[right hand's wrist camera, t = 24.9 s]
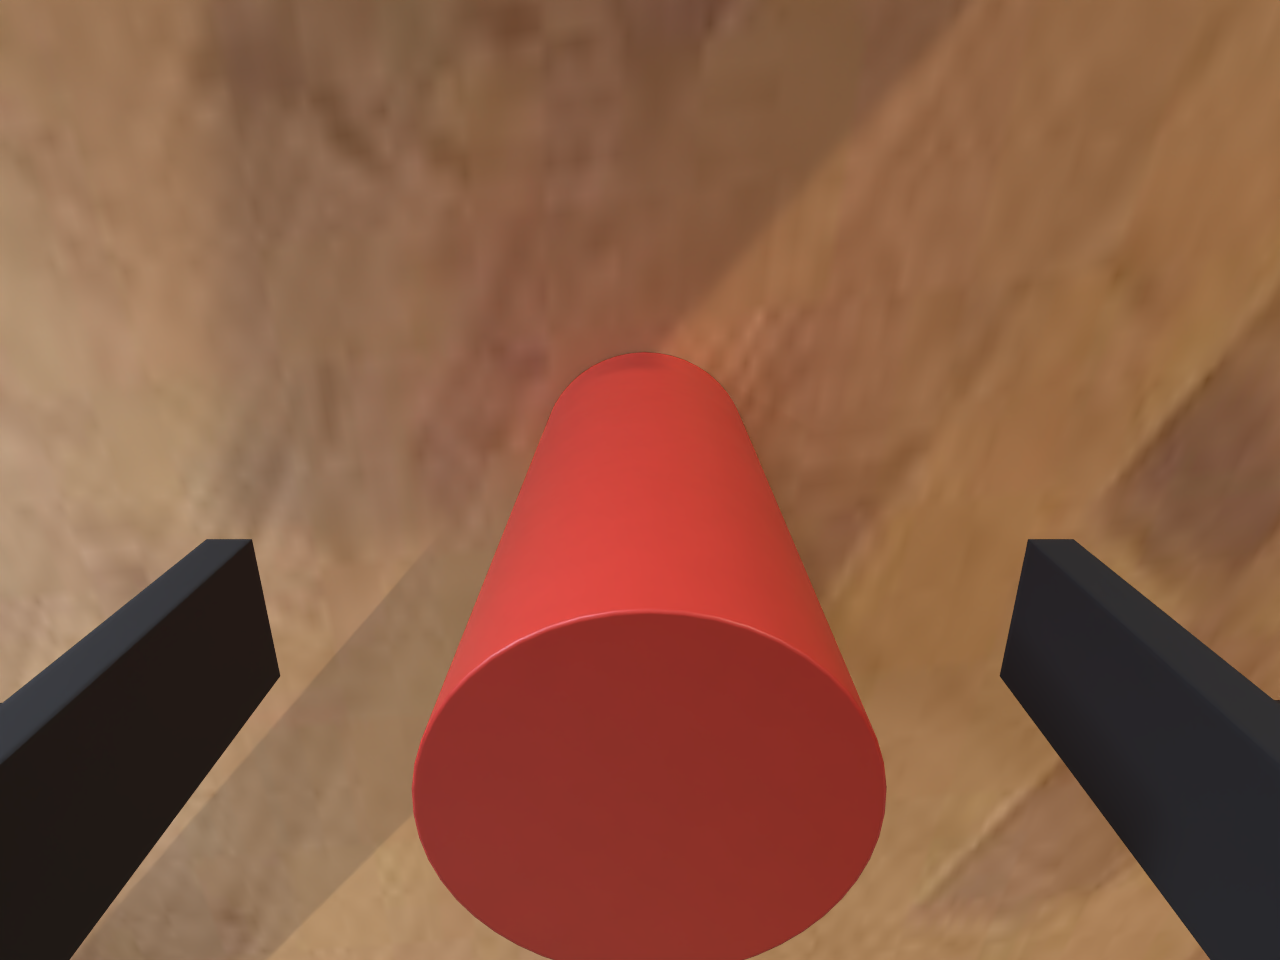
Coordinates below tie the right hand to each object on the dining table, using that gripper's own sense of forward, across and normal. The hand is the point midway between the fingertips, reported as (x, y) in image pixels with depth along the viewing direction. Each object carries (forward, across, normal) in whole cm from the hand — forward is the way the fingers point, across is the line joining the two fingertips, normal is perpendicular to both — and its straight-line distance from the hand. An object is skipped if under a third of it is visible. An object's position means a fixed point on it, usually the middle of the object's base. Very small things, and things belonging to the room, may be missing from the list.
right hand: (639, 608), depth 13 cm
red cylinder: (+8, 0, 0) cm, 8 cm away
